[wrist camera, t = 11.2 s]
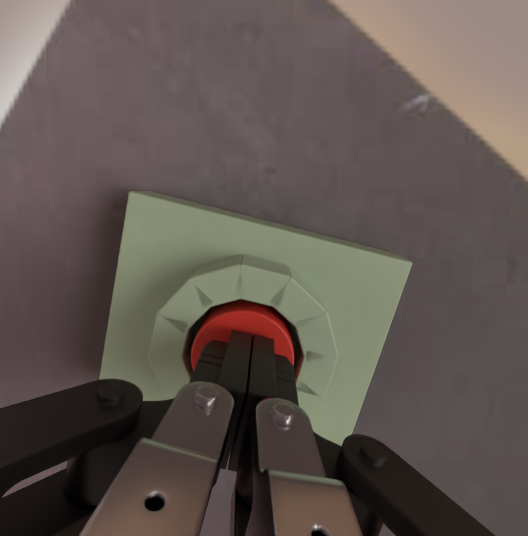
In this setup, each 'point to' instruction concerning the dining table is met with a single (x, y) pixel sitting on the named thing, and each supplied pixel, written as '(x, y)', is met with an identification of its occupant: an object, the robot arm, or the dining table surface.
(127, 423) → the robot arm
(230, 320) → the button
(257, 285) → the switch block
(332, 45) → the dining table surface
